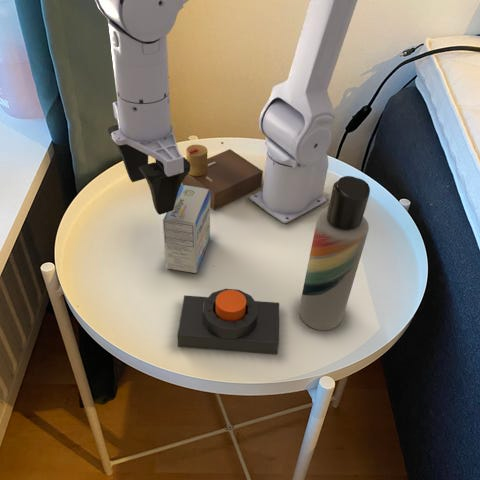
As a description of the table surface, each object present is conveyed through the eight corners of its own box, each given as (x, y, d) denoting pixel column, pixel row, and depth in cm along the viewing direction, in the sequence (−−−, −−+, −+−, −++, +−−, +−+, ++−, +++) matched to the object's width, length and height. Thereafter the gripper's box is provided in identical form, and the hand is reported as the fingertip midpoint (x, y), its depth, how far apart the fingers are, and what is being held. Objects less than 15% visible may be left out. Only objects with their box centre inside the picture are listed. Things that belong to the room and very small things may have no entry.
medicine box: (196, 275, 75) (196, 224, 68) (165, 269, 75) (161, 218, 68) (210, 238, 80) (211, 188, 73) (180, 233, 80) (179, 182, 74)
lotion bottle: (320, 292, 74) (351, 162, 59) (351, 318, 71) (392, 188, 56) (289, 311, 71) (313, 179, 56) (319, 338, 68) (353, 208, 53)
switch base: (177, 346, 66) (176, 325, 63) (184, 306, 71) (183, 284, 68) (276, 354, 66) (280, 333, 63) (277, 314, 71) (280, 292, 68)
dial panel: (221, 159, 94) (222, 142, 91) (261, 187, 89) (263, 170, 87) (164, 184, 88) (163, 167, 86) (204, 215, 83) (204, 198, 81)
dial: (198, 162, 87) (198, 140, 84) (211, 171, 86) (211, 149, 83) (182, 169, 86) (181, 147, 83) (195, 178, 84) (195, 156, 81)
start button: (214, 320, 65) (214, 310, 63) (216, 298, 67) (217, 288, 66) (244, 323, 65) (245, 313, 63) (246, 300, 67) (247, 290, 66)
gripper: (82, 71, 62) (99, 173, 72) (137, 131, 55) (147, 236, 65) (139, 59, 65) (148, 160, 75) (200, 114, 57) (200, 218, 67)
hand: (151, 194), depth 70 cm, fingers open, 7 cm apart
